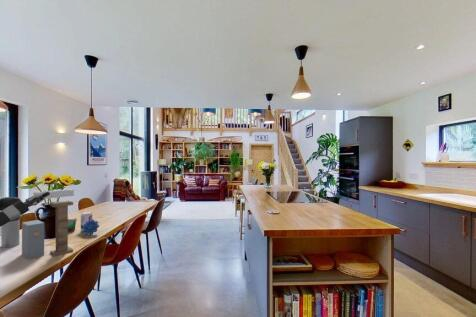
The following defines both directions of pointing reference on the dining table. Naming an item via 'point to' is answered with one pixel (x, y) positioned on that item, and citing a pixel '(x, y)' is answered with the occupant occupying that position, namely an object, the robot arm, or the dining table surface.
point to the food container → (71, 224)
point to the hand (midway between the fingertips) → (47, 192)
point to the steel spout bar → (56, 193)
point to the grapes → (90, 227)
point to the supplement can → (85, 218)
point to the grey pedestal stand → (61, 228)
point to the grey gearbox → (32, 239)
